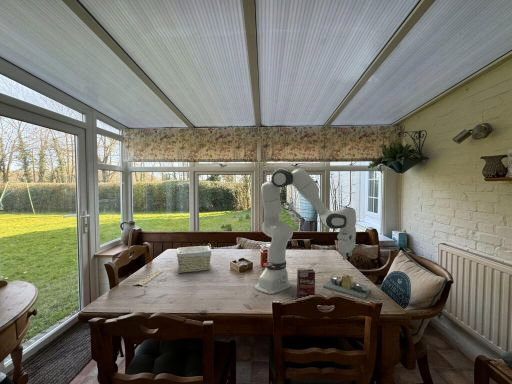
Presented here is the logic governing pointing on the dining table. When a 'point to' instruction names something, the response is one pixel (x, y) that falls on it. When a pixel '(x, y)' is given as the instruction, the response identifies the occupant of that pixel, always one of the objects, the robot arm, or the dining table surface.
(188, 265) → the storage basket
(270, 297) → the dining table surface
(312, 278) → the supplement box
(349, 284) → the coupler
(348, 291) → the bench plate
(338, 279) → the shaft
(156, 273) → the newspaper
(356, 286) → the shaft
